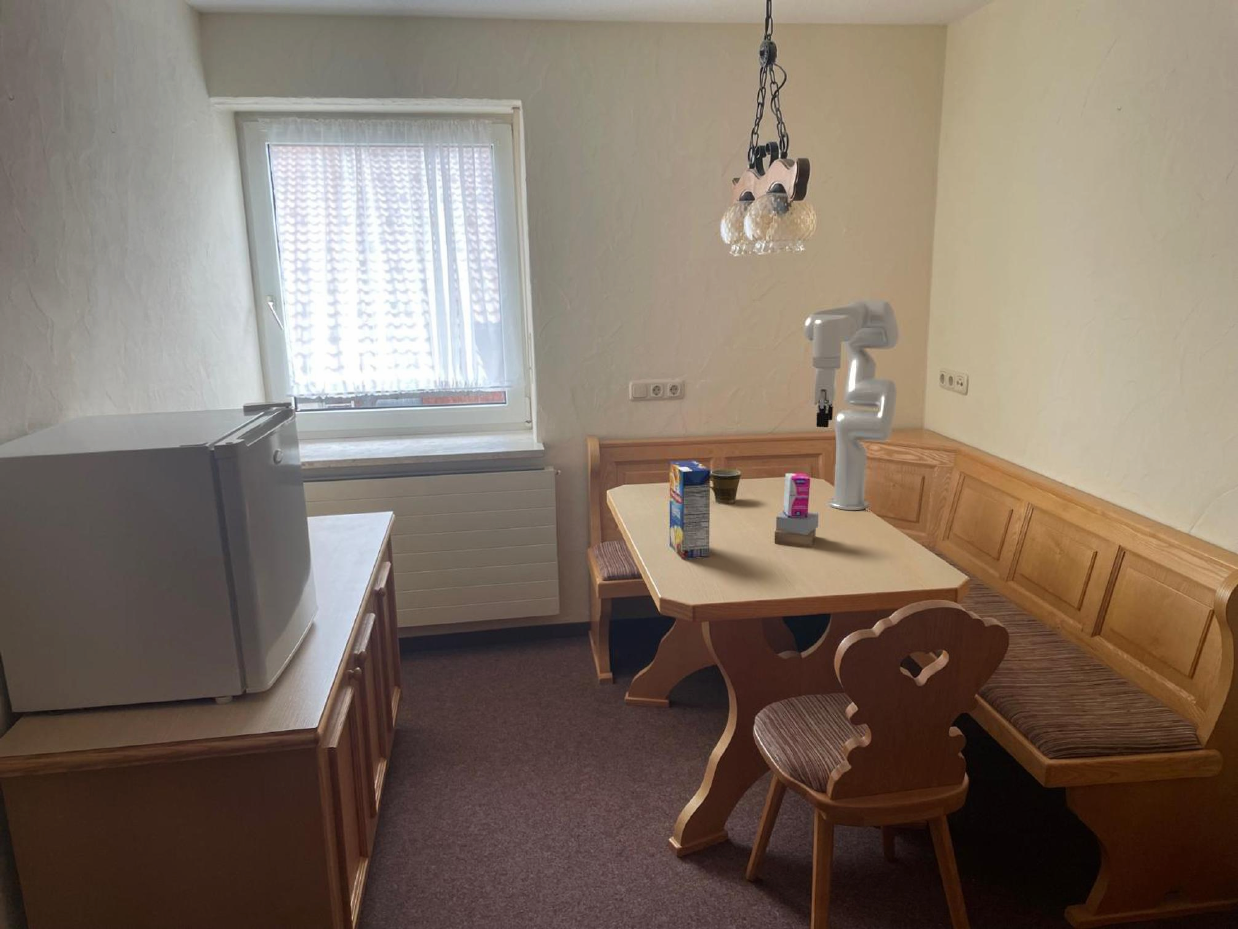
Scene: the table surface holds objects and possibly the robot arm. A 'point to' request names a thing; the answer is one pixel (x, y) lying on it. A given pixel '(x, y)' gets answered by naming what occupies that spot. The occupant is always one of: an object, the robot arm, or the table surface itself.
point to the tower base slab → (794, 538)
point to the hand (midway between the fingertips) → (824, 423)
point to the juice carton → (689, 509)
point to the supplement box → (796, 495)
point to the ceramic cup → (725, 484)
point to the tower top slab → (797, 523)
